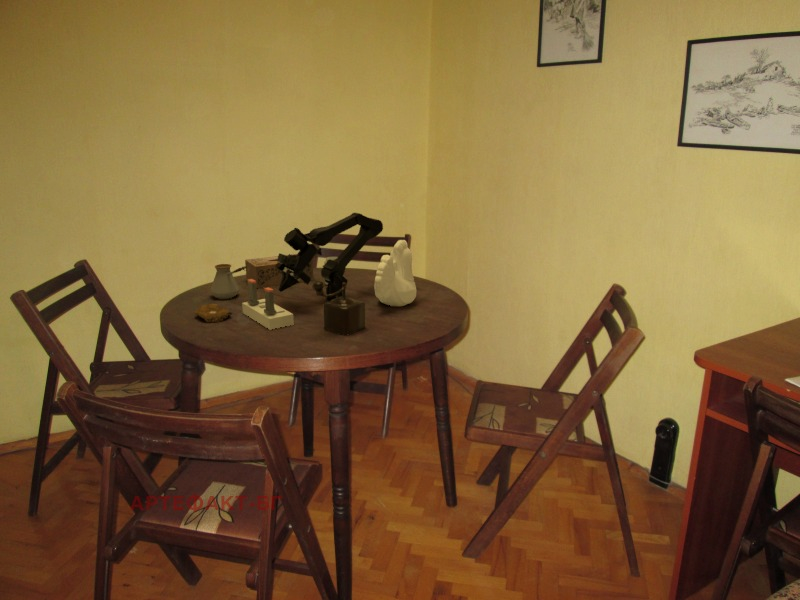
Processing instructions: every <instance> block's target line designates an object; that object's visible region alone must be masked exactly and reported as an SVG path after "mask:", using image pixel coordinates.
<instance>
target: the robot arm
mask: <svg viewBox="0 0 800 600" xmlns="http://www.w3.org/2000/svg"><path fill="white" fill-rule="evenodd" d="M357 225H358V226H360V227H359V231H358V234H357V235H356V236H355V237H354V238H353V239H352V241H351V242H349V244H348V245H347V246H346V247H345V248H344V250H343V251H342V252H341V253H340V254H339V255H338V256H337V257H338V258H337V259H335V260H331V259H329V260H328V261H327V262H326V264H325V265H324V264H323V265H322V269H321V270H320V274H321V277H322V279H323V280H324V283H325V282H326V283H328V284H327V285H326V288H325V292H326V293H325V295H329V294H333V293H335V292H337V291H339V290H340V289H341V288H342V286H343V285H342V283H343V282H345V283H346V286H347V283H348V279H347V278H346V277H344V274H345V272H346V267H347V266H348V265H349V263H350V262H351V261H352V260H353V259H354V258H355V257H356V255H357V254H358V253H359V252H360V251H361V250H362V248H364V246H366V244H367V243H368V242H369V241H370V240H372V239H374V238H376V237H377V236H378V235H380V234H381V233H382V232H383V230H384V224H383V222H382V221H381V220H380V219H377V218H372V217H368V216H365V215H363V214H362V213H358V212H352V213H351V214H349V215H348V216H345V217H344V218H341V219H339V220H337V221H336V222H334V223H331V224H329V225H327V226H319V227H316V228H313V229H312V230H310V232H308V233H303V232H302V231H301V230H300V229H299V228H298V227H294V228H293V229H292V230H290V231H289V232H287V233H286V234H285V235H284V239H283V240H284V242H285V243H286V244H287V245H289V247H290V248H292V249H293V250H294V251H298V252H297V253H296V254H297V255H291V254H290V253H289V254H283V253H278V255H277V256H278V259H277V261H278V263H277V264H276V265H275V267H276V268H278V269H279V270H280V271H281V272H282V280H281V283H280V286H278V291H279V292H280V293H283V291H285V290H287V289H289V288H292V286H293V287H294V286H295V285H297V284H301V283H300V282H299V280H300V279H301V280H302V281H304V283H303V284H305V285H308V286H309V284H310V281H311V277H309V276H308V275H307V274H306V273H305V272H303V271H304V270H305V268H306V267H310V265H309V263H310V262H311V260H314V257H315V256H316V255H318V256H323V252H322V248H321V247H324V246H326V245H328V244H329V243H330V242H332V240H333V239H334V237H335V238H336V236H337V235H340V234H341V233H343V232H345V231H347V230H350V229H352V228H353V227H355V226H357ZM316 245H317V246H320V247H317V246H316ZM287 255H288V256H287ZM311 282H312V281H311ZM337 295H338V297H341V296H343V291H342V292H341V293H339V294H337ZM333 299H336V295H335V296H332V297H326V299H325V301H329V302H330V301H331V300H333Z"/></svg>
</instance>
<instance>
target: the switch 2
mask: <svg viewBox="0 0 800 600" xmlns="http://www.w3.org/2000/svg"><path fill="white" fill-rule="evenodd" d="M263 290H264V299H265V306H266V309H265V310H264V313H266V314H268V315H271V314H276V310H274V304H275V298H274V297H275V296H274V289H273V288H272V287H267V288H263Z"/></svg>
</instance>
